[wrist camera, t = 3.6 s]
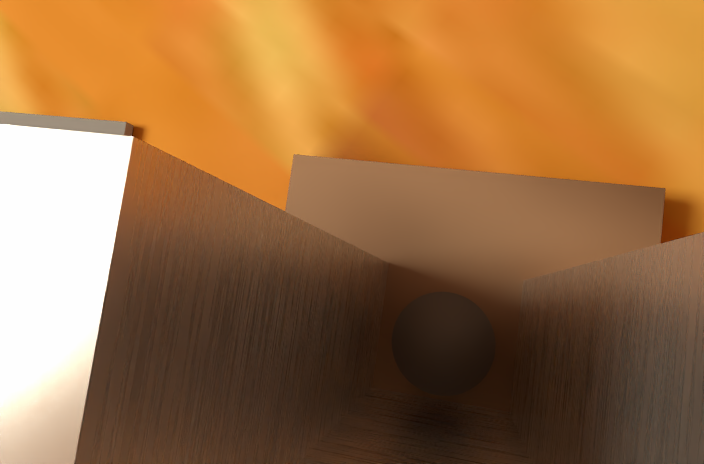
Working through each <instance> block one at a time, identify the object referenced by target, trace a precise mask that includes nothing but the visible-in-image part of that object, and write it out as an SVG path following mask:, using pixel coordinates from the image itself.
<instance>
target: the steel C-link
mask: <svg viewBox="0 0 704 464" xmlns="http://www.w3.org/2000/svg"><path fill="white" fill-rule="evenodd" d="M388 264H389V263H388V262H386V261H384V260H382V259H380V258H378V257H376V256H374V255H372V254H370V253H368V252H366V251H364V250H362V249H360V248H358V247H356V246H354V245H352V244H350V243H348V242H345V241H343V240H341V239H339V238H337V237H335V236H333V235H331V234H329V233H327V232H325V231H323V230H321V229H319V228H317V227H315V226H313V225H311V224H309V223H307V222H305V221H303V220H301V219H299V218H297V217H295V216H293V215H291V214H289V213H287V212H285V211H283V210H281V209H279V208H277V207H275V206H273V205H271V204H269V203H267V202H265V201H263V200H261V199H259V198H257V197H255V196H253V195H251V194H249V193H247V192H245V191H243V190H241V189H239V188H237V187H235V186H233V185H230V184H228V183H226V182H224V181H222V180H220V179H218V178H216V177H214V176H212V175H210V174H208V173H206V172H204V171H202V170H200V169H198V168H196V167H194V166H192V165H190V164H188V163H186V162H184V161H182V160H180V159H178V158H176V157H174V156H172V155H170V154H168V153H166V152H164V151H162V150H160V149H158V148H156V147H154V146H152V145H150V144H148V143H146V142H144V141H142V140H140V139H138V138H136V137H134V136H123V135H112V134H101V133H90V132H79V131H68V130H56V129H45V128H34V127H23V126H12V125H1V124H0V464H704V232H702V233H698V234H695V235H691V236H687V237H683V238H680V239H676V240H672V241H669V242H665V243H661V244H657V245H654V246H650V247H646V248H643V249H639V250H635V251H631V252H628V253H624V254H620V255H617V256H613V257H609V258H605V259H602V260H598V261H594V262H590V263H587V264H583V265H579V266H576V267H572V268H568V269H564V270H561V271H557V272H553V273H550V274H546V275H542V276H538V277H535V278H531V279H527V280H524V281H523V290H522V299H521V308H520V317H519V327H518V336H517V345H516V354H515V363H514V372H513V381H512V391H511V400H510V409H509V412H506V411H501V410H495V409H490V408H484V407H479V406H473V405H467V404H462V403H456V402H451V401H445V400H440V399H434V398H429V397H423V396H418V395H412V394H406V393H401V392H395V391H390V390H384V389H379V388H373V387H372V384H373V376H374V369H375V361H376V354H377V346H378V339H379V331H380V324H381V316H382V309H383V301H384V294H385V286H386V279H387V271H388Z"/></svg>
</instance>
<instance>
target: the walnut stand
mask: <svg viewBox="0 0 704 464" xmlns="http://www.w3.org/2000/svg"><path fill="white" fill-rule="evenodd" d="M664 199H665V188H655V187H644V186H633V185H622V184H611V183H600V182H589V181H578V180H568V179H557V178H546V177H535V176H524V175H513V174H502V173H491V172H480V171H469V170H458V169H448V168H437V167H426V166H415V165H404V164H393V163H382V162H371V161H360V160H349V159H338V158H327V157H317V156H306V155H295V154H294V157H293V164H292V170H291V177H290V183H289V190H288V197H287V203H286V210H285V212H287V213H289V214H291V215H293V216H295V217H297V218H299V219H301V220H303V221H305V222H307V223H309V224H311V225H313V226H315V227H317V228H319V229H321V230H323V231H325V232H327V233H329V234H331V235H333V236H335V237H337V238H339V239H341V240H343V241H345V242H348V243H350V244H352V245H354V246H356V247H358V248H360V249H362V250H364V251H366V252H368V253H370V254H372V255H374V256H376V257H378V258H380V259H382V260H384V261H386V262H388V263H389V264H388V271H387V279H386V286H385V294H384V301H383V309H382V316H381V324H380V331H379V339H378V346H377V354H376V361H375V369H374V376H373V384H372V387H373V388H379V389H384V390H390V391H395V392H401V393H406V394H412V395H418V396H423V397H429V398H434V399H440V400H445V401H451V402H456V403H462V404H467V405H473V406H479V407H484V408H490V409H495V410H501V411H506V412H509V409H510V400H511V391H512V381H513V372H514V363H515V354H516V345H517V336H518V327H519V317H520V308H521V299H522V290H523V281H524V280H527V279H531V278H535V277H538V276H542V275H546V274H550V273H553V272H557V271H561V270H564V269H568V268H572V267H576V266H579V265H583V264H587V263H590V262H594V261H598V260H602V259H605V258H609V257H613V256H617V255H620V254H624V253H628V252H631V251H635V250H639V249H643V248H646V247H650V246H654V245H657V244H661V234H662V222H663V211H664Z"/></svg>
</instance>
